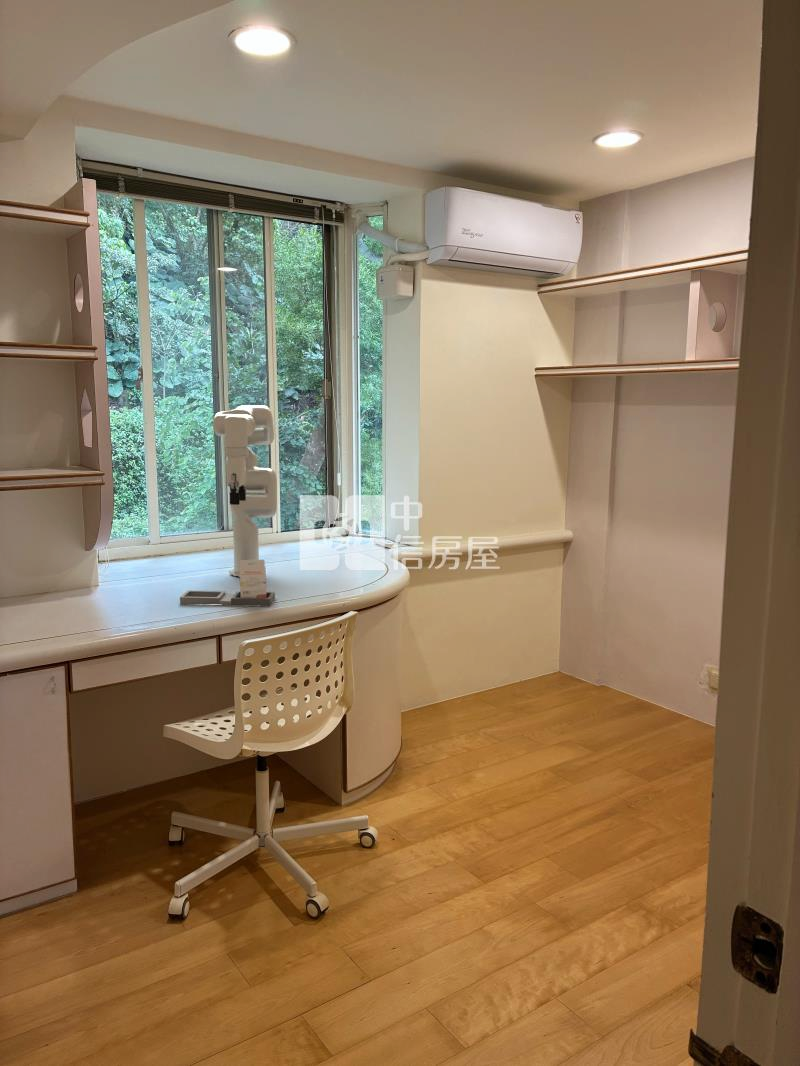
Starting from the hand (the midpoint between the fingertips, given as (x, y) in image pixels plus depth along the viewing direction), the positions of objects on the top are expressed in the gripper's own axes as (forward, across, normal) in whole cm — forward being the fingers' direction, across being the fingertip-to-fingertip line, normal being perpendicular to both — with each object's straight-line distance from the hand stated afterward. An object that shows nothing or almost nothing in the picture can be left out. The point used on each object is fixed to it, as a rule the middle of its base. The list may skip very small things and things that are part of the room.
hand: (237, 502), depth 272 cm
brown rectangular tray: (+32, +11, -10) cm, 36 cm away
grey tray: (+32, +11, +5) cm, 34 cm away
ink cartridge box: (+32, +10, +7) cm, 35 cm away
